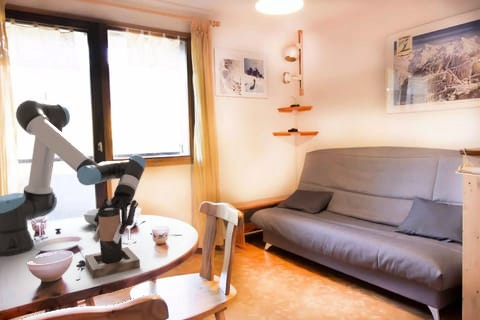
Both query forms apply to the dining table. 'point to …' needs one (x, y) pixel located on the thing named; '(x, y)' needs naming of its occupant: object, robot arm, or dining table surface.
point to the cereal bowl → (90, 216)
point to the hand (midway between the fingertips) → (105, 241)
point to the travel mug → (109, 234)
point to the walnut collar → (111, 264)
